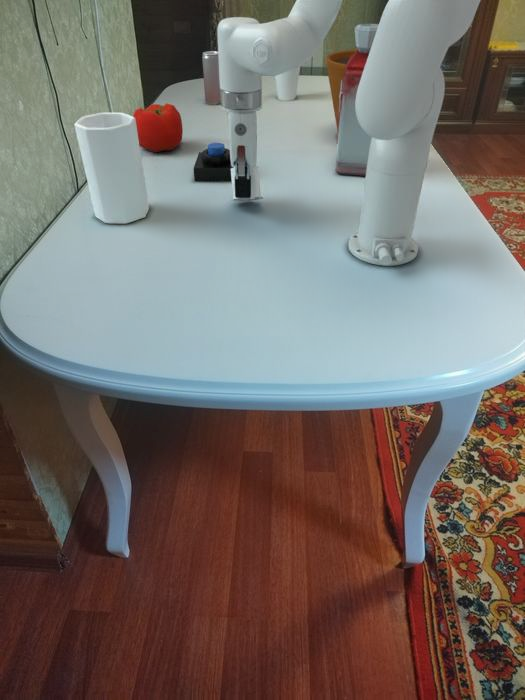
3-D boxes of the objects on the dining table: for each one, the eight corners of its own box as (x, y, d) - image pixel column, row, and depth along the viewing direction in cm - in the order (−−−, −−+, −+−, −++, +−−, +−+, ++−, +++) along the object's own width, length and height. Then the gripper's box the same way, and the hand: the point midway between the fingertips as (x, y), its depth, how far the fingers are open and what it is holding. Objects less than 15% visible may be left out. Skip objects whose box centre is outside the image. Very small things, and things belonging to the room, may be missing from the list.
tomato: (151, 160, 131) (145, 117, 124) (127, 147, 138) (120, 106, 132) (195, 149, 137) (192, 107, 130) (170, 137, 145) (165, 97, 138)
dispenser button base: (236, 181, 119) (236, 160, 116) (194, 181, 120) (192, 160, 116) (239, 164, 128) (238, 144, 125) (199, 164, 128) (198, 144, 125)
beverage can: (203, 101, 175) (199, 51, 165) (219, 99, 177) (216, 50, 167) (208, 105, 171) (205, 55, 161) (225, 103, 173) (223, 53, 163)
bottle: (374, 178, 121) (394, 30, 101) (331, 175, 122) (343, 29, 103) (376, 157, 132) (395, 21, 112) (336, 155, 133) (348, 19, 114)
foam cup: (269, 96, 180) (270, 54, 172) (294, 94, 182) (295, 52, 174) (278, 102, 173) (279, 59, 165) (303, 100, 175) (305, 57, 167)
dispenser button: (224, 156, 119) (223, 148, 118) (207, 156, 119) (206, 148, 118) (225, 151, 122) (225, 142, 121) (209, 151, 122) (208, 142, 121)
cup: (92, 206, 109) (71, 115, 97) (144, 199, 112) (130, 109, 100) (98, 228, 101) (76, 131, 89) (154, 219, 104) (140, 125, 92)
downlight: (270, 197, 105) (266, 146, 103) (238, 198, 102) (234, 146, 100) (254, 202, 112) (250, 155, 110) (225, 203, 109) (220, 155, 107)
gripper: (261, 110, 86) (261, 212, 98) (261, 88, 98) (261, 182, 109) (217, 110, 86) (222, 212, 98) (222, 88, 98) (226, 181, 109)
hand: (243, 195), depth 104 cm, fingers closed
